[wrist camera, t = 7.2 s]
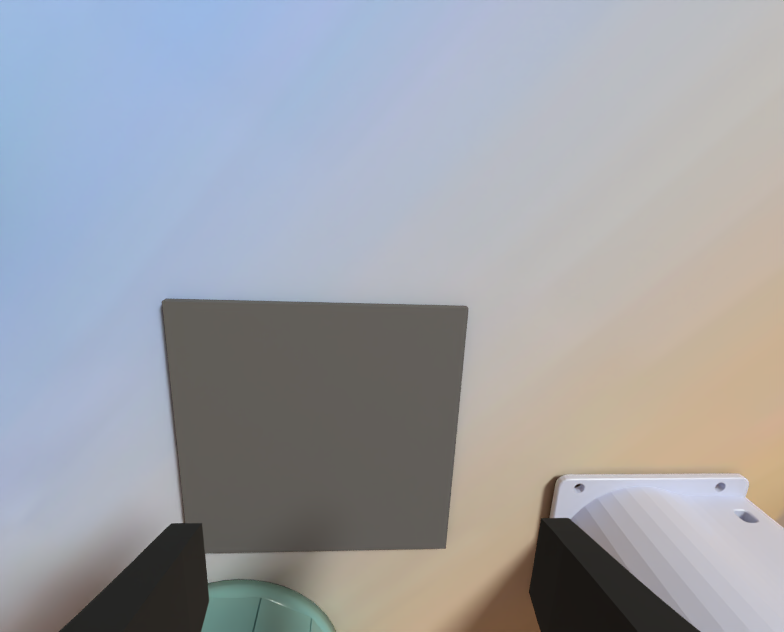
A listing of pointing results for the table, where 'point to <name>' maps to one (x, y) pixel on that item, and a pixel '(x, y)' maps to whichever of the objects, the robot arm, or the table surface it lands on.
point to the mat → (315, 422)
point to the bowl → (261, 609)
